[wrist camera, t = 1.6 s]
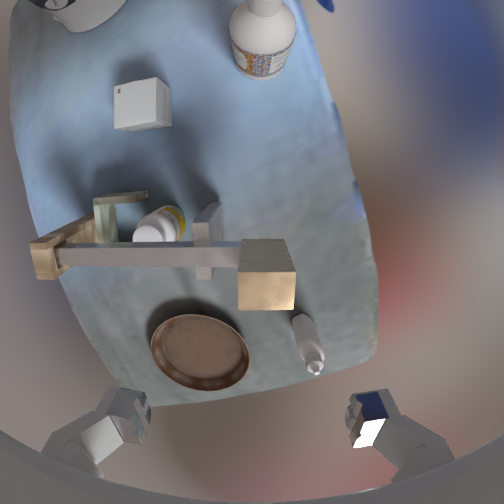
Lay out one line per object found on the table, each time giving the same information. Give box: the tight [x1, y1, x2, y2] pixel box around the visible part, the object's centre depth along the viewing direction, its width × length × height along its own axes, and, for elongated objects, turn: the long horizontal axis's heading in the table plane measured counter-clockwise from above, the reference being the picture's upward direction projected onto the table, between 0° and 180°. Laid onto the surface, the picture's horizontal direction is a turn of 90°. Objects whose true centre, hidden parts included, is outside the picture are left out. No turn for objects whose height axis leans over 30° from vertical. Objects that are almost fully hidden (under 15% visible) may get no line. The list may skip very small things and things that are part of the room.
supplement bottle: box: [133, 205, 186, 242], centre depth 36 cm, size 5×5×10 cm
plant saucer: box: [150, 314, 250, 392], centre depth 47 cm, size 18×18×3 cm
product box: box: [114, 77, 172, 132], centre depth 32 cm, size 6×6×7 cm
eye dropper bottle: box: [292, 314, 325, 375], centre depth 41 cm, size 4×6×12 cm
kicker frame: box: [29, 190, 149, 280], centre depth 33 cm, size 10×10×17 cm
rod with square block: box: [53, 202, 296, 310], centre depth 30 cm, size 6×26×21 cm, turn 90°
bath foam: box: [229, 0, 296, 81], centre depth 23 cm, size 7×7×20 cm
